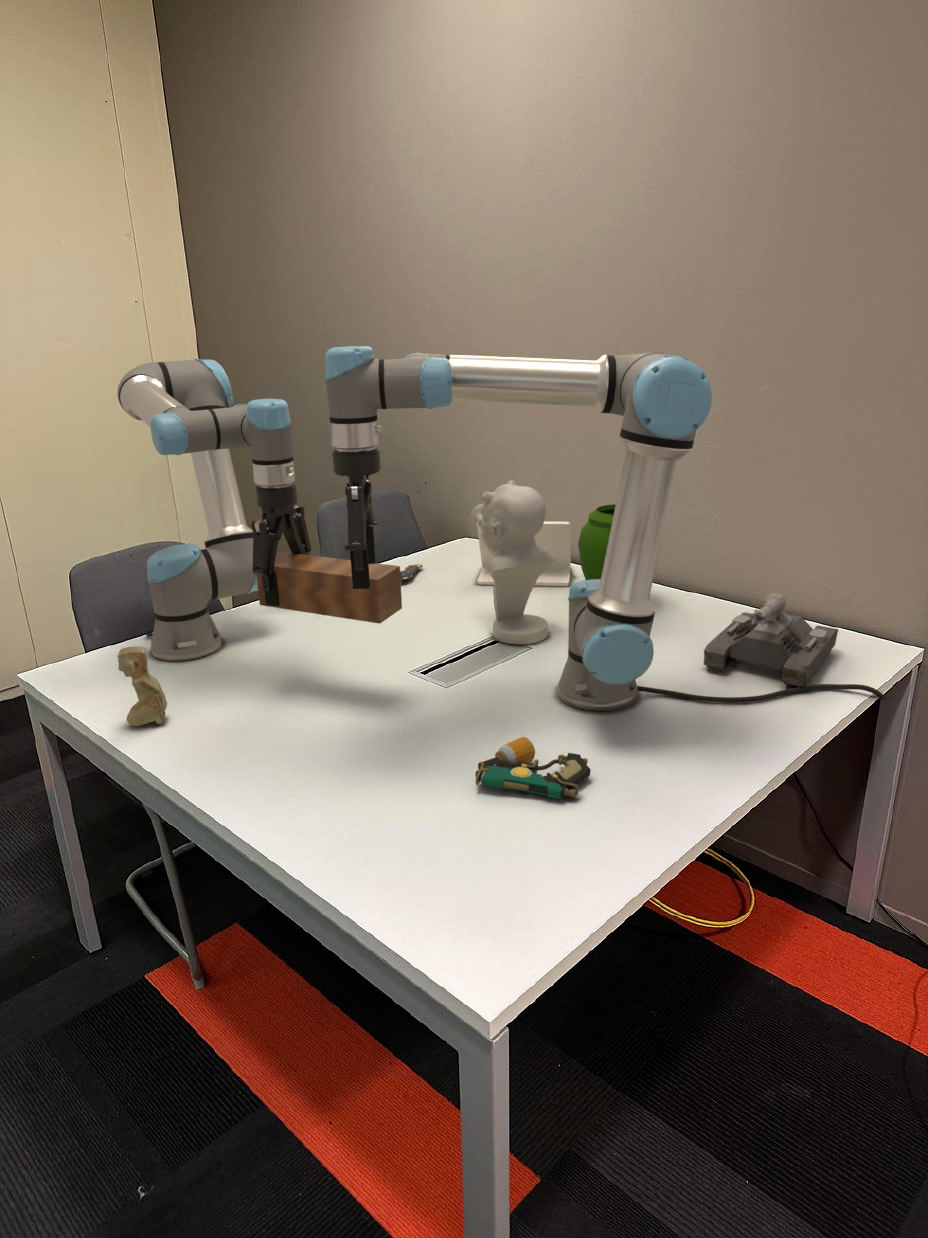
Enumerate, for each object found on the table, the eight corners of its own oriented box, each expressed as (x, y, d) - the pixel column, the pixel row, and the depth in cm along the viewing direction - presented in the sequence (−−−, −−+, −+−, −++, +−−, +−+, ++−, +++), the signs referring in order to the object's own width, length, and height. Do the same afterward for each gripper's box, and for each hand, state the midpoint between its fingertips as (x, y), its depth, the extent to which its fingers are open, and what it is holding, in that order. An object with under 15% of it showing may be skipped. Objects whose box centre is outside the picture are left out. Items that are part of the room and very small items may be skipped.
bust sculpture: (511, 606, 215) (510, 468, 202) (566, 637, 195) (568, 485, 182) (455, 619, 208) (450, 476, 195) (505, 651, 188) (504, 494, 175)
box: (259, 605, 166) (254, 563, 163) (285, 591, 174) (281, 551, 171) (380, 623, 156) (377, 579, 153) (402, 608, 163) (399, 566, 160)
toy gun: (371, 579, 231) (406, 576, 229) (390, 563, 249) (423, 560, 247) (373, 589, 232) (408, 586, 230) (391, 572, 250) (424, 569, 248)
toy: (742, 632, 194) (748, 569, 189) (835, 650, 183) (844, 584, 178) (701, 671, 175) (707, 602, 170) (802, 694, 164) (811, 621, 159)
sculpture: (133, 716, 163) (119, 643, 158) (171, 713, 164) (159, 641, 159) (125, 730, 158) (111, 656, 153) (165, 727, 159) (152, 653, 153)
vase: (599, 587, 227) (601, 497, 218) (668, 600, 216) (673, 505, 208) (562, 608, 212) (564, 513, 204) (634, 623, 202) (639, 523, 193)
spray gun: (599, 775, 140) (559, 824, 128) (511, 745, 148) (465, 788, 136) (601, 753, 138) (560, 800, 127) (511, 724, 146) (465, 766, 135)
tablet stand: (569, 585, 229) (570, 524, 223) (476, 584, 232) (475, 523, 226) (570, 566, 246) (571, 508, 240) (484, 564, 249) (483, 507, 243)
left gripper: (256, 498, 150) (269, 618, 158) (323, 474, 168) (332, 583, 176) (222, 495, 153) (237, 613, 161) (292, 471, 171) (302, 578, 179)
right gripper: (373, 461, 124) (382, 598, 132) (383, 435, 148) (390, 553, 155) (322, 463, 124) (334, 600, 132) (340, 437, 147) (349, 555, 155)
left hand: (286, 597), depth 169 cm, fingers closed on box, 9 cm apart
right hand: (364, 575), depth 143 cm, fingers open, 13 cm apart
